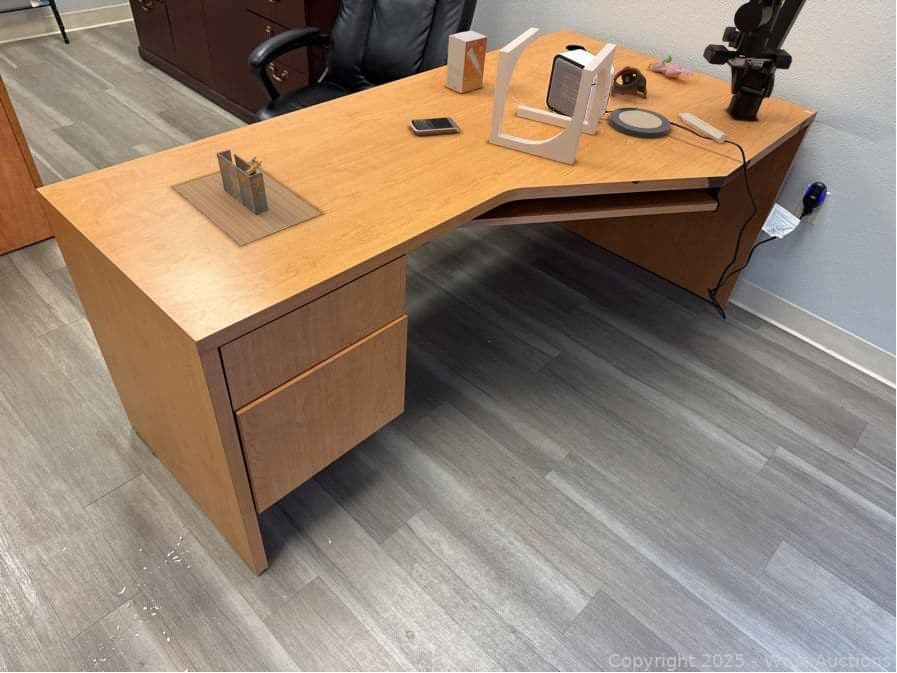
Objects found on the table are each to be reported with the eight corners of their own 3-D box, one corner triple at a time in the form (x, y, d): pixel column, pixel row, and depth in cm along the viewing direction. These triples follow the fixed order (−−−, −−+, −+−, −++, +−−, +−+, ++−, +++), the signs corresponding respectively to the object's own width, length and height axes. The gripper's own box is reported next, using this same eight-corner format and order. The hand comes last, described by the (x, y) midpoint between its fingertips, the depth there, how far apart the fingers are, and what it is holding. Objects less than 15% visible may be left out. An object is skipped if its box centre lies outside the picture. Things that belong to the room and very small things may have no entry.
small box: (461, 94, 158) (465, 41, 149) (445, 86, 161) (448, 34, 152) (482, 87, 162) (488, 36, 153) (466, 80, 165) (470, 29, 156)
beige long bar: (676, 119, 156) (721, 144, 146) (672, 116, 155) (717, 141, 145) (683, 110, 155) (728, 135, 145) (679, 106, 154) (724, 131, 143)
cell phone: (407, 125, 141) (408, 119, 140) (452, 122, 144) (452, 116, 143) (415, 137, 137) (415, 131, 136) (460, 133, 140) (461, 127, 139)
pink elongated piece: (643, 74, 181) (683, 83, 171) (646, 53, 178) (687, 60, 168) (657, 72, 184) (697, 80, 174) (660, 50, 181) (702, 58, 170)
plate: (661, 115, 156) (662, 109, 155) (675, 140, 145) (677, 134, 144) (603, 110, 155) (605, 105, 154) (614, 135, 144) (616, 129, 143)
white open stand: (488, 142, 137) (499, 50, 124) (519, 113, 151) (531, 27, 137) (572, 164, 132) (592, 71, 118) (595, 132, 145) (616, 44, 132)
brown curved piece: (652, 104, 162) (649, 79, 155) (617, 117, 165) (613, 93, 158) (641, 77, 168) (637, 52, 162) (607, 89, 171) (602, 66, 164)
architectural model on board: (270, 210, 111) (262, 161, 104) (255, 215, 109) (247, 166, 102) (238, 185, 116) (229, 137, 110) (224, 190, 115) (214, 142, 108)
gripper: (786, 16, 140) (759, 84, 151) (708, 10, 139) (686, 79, 150) (806, 31, 132) (776, 101, 142) (723, 25, 131) (698, 96, 142)
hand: (733, 93), depth 144 cm, fingers closed
